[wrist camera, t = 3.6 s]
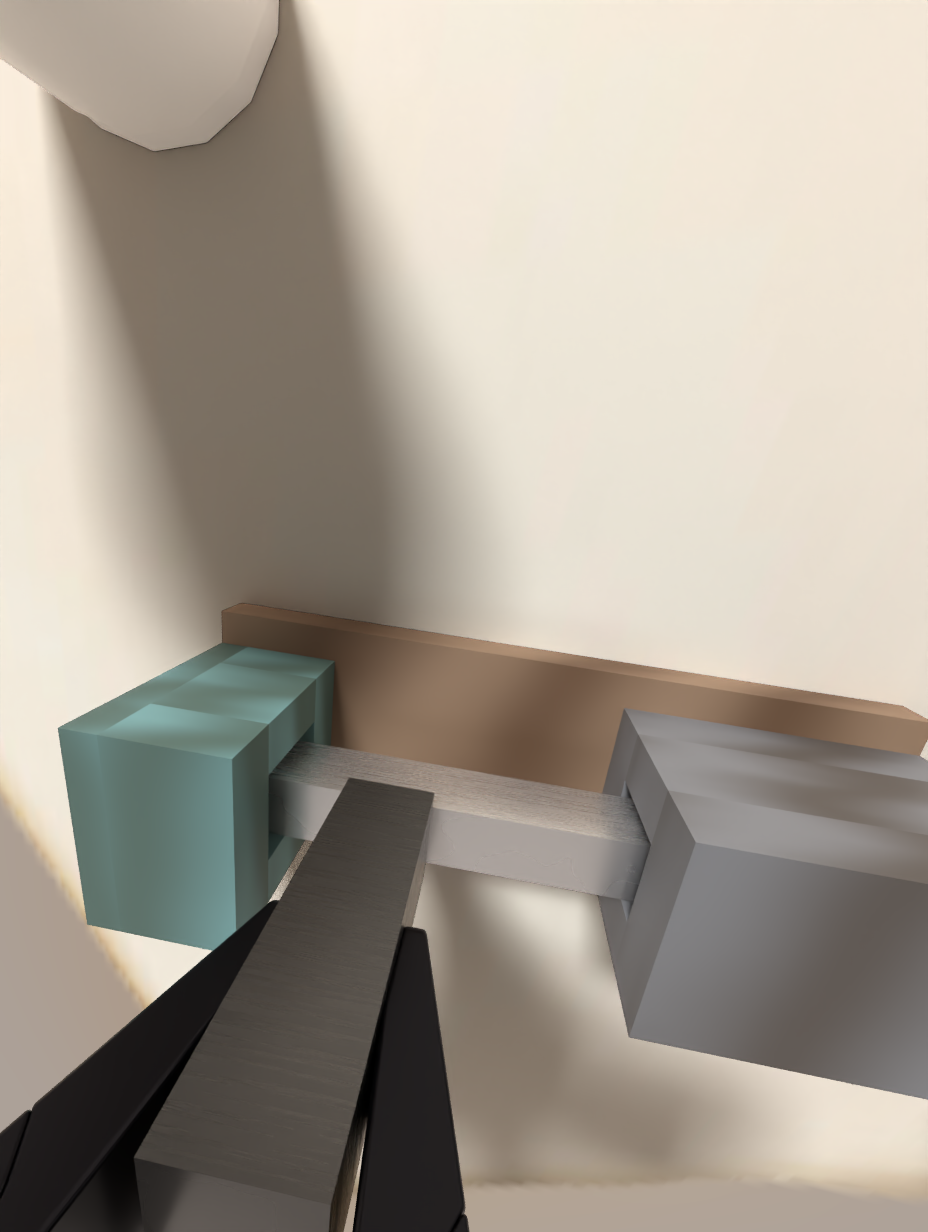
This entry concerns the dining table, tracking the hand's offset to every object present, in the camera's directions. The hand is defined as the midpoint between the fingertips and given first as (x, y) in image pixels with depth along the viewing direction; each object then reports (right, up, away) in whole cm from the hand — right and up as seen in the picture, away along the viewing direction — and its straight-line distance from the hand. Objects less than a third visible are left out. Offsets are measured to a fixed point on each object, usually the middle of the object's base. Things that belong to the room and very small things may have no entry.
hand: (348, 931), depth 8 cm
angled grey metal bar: (+3, +1, +4) cm, 5 cm away
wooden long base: (+4, +1, +6) cm, 8 cm away
